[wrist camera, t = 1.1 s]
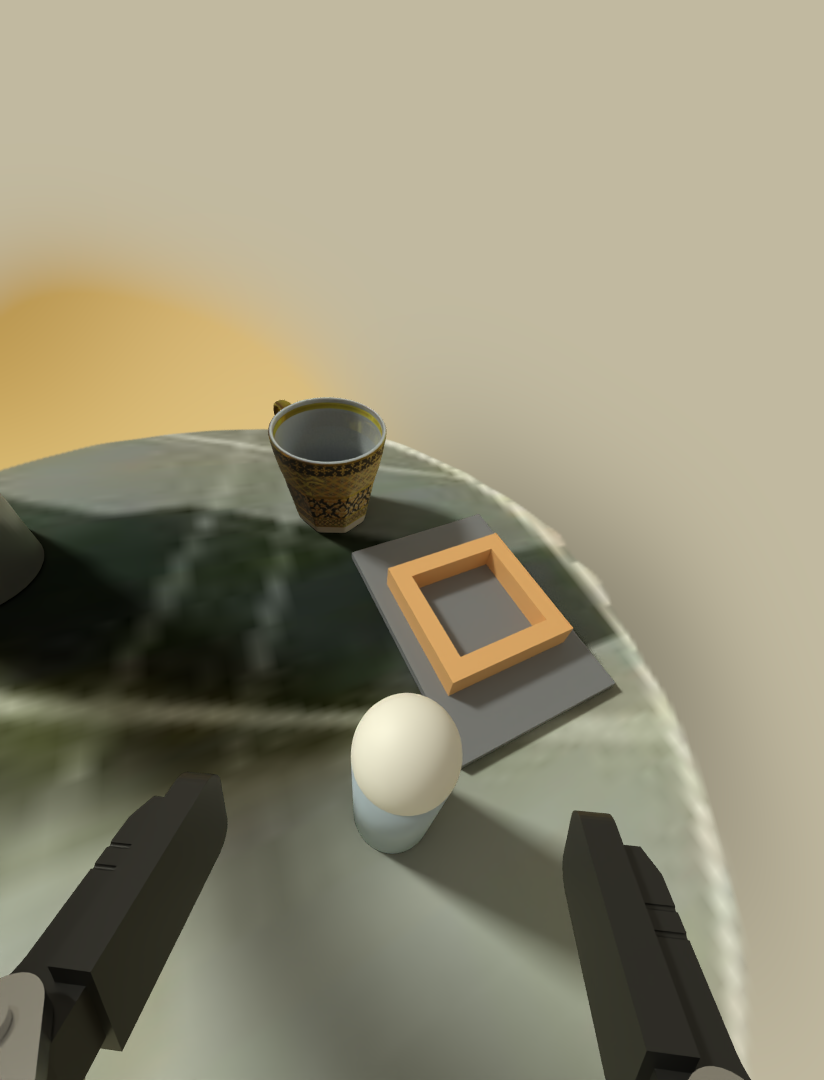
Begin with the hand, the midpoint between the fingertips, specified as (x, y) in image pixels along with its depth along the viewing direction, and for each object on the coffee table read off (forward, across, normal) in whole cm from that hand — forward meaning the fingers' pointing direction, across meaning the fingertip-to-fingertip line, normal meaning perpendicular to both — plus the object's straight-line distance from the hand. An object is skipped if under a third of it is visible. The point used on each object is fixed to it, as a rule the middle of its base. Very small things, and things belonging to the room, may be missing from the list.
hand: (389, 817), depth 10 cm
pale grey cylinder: (+13, +2, +16) cm, 21 cm away
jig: (+26, -3, +10) cm, 29 cm away
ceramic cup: (+36, +12, +3) cm, 38 cm away
